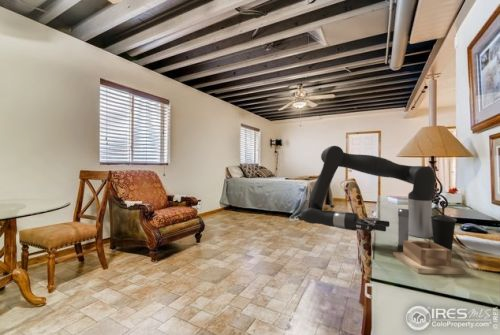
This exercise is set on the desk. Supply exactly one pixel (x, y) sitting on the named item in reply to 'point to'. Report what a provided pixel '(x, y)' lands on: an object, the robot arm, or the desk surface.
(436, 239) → the drinking cup
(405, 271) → the desk surface
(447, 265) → the wooden square box
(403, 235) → the ball topped joystick
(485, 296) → the desk surface
